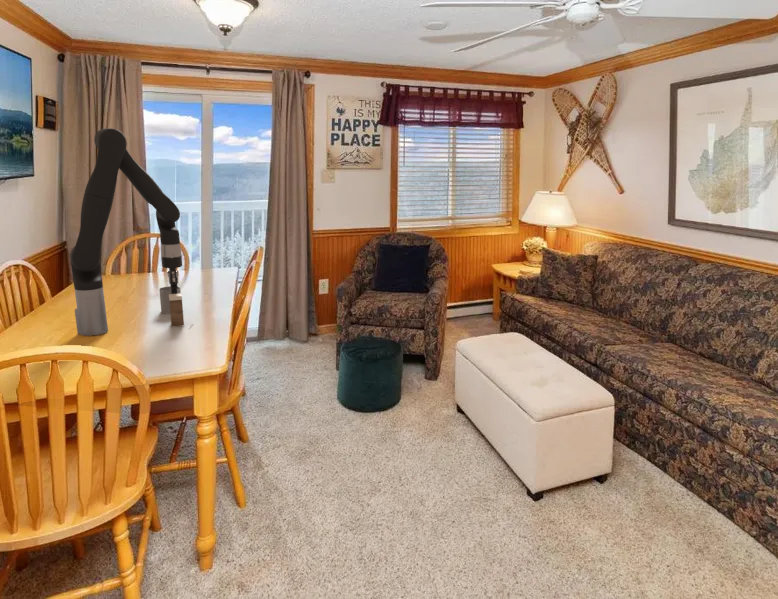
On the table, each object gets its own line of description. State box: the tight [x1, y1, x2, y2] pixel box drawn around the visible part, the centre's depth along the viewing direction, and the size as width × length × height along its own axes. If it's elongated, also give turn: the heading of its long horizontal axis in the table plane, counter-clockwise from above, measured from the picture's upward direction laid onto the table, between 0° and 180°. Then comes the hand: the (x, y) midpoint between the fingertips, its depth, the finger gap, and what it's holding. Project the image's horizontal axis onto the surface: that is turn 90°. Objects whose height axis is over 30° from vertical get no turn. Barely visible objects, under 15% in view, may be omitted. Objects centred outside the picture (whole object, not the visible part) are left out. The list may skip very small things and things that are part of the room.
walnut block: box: [169, 293, 185, 327], centre depth 212 cm, size 4×4×12 cm
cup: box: [159, 286, 182, 314], centre depth 231 cm, size 8×8×10 cm
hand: (174, 297), depth 217 cm, fingers closed
